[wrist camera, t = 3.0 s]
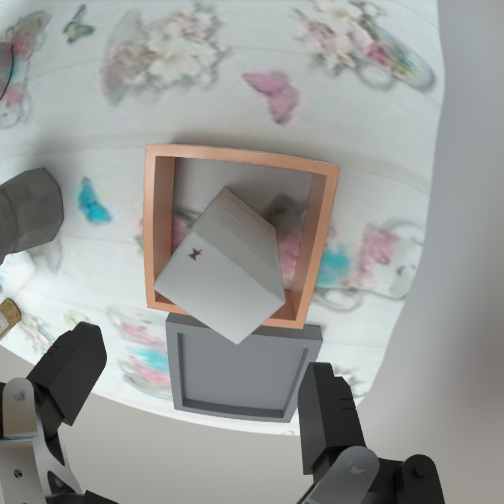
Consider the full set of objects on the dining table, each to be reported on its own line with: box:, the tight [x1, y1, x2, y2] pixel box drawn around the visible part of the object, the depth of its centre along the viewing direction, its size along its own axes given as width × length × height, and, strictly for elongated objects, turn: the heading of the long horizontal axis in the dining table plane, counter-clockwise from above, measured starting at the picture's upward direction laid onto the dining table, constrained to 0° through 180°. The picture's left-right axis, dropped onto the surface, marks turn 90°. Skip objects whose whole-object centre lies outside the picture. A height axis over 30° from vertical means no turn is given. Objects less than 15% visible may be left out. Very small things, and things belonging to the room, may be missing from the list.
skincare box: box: [153, 187, 286, 345], centre depth 19 cm, size 6×4×12 cm
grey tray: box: [165, 312, 323, 423], centre depth 30 cm, size 16×16×2 cm
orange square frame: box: [143, 143, 340, 329], centre depth 22 cm, size 14×14×5 cm
